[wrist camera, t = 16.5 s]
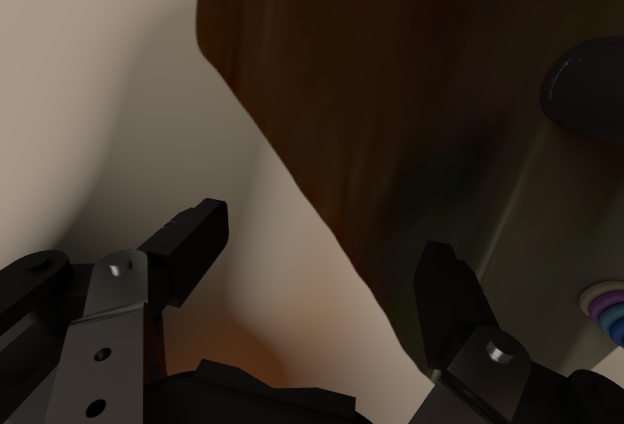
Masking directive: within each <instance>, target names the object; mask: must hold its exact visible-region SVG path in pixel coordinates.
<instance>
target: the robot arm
mask: <svg viewBox="0 0 624 424" xmlns="http://www.w3.org/2000/svg"><path fill="white" fill-rule="evenodd" d="M541 104H542V107H543V110H544V111H545V112H546V114H547V115H548V116H549V117H551V118H552V119H553V120H556V121H558V122H561V123H563V124H566V125H569V126H571V127H574V128H576V129H578V130H581V131H584V132H586V133H589V134H592V135H594V136H597V137H599V138H602V139H605V140H607V141H610V142H612V143H615V144H618V145H620V146H623V147H624V36H611V37H600V38H595V39H592V40H589V41H586V42H584V43H582V44H580V45H577V46H576V47H574V48H573V49H571V50H570V51H568V52H567V53H566V54H564V55H563V56H562V57H561V58H560V59H559V60H558V61H557V62H556V63H555V64H554V66H553V67H552V68H551V69H550V71H549V73H548V74H547V76H546V78H545V80H544V83H543V85H542V89H541ZM228 237H229V227H228V210H227V204H226V202H225V201H220V200H215V199H210V198H206V199H204V200H203V201H202V202H201V203H200V204H198V205H197V206H196V207H195V208H189V209H187V210H185V211H183V212H180V213H179V214H177V215H176V216H175V217H174V218H173V219H171V221H170V222H168V223H167V224H165V225H164V226H163V228H161V229H160V230H158V231H157V232H156V233H155V234H154V235H153V236H151V237H150V238H149V239H148V240H147V241H145V242H144V243H143V244H142V245H141V246H140V247H138V248H137V249H136V250H135V249H127V250H120V251H117V252H114V253H111V254H109V255H107V256H105V257H103V258H102V259H100V260H99V261H98V262H97V263H96V264H71V263H70V261H69V259H68V257H67V255H66V254H65V253H64V252H62V251H57V250H47V251H40V252H36V253H33V254H29V255H27V256H24V257H22V258H20V259H18V260H16V261H14V262H13V263H11V264H10V265H8V266H7V267H5V268H3V269H2V270H0V336H1V335H2V334H4V333H5V332H6V331H7V330H9V329H10V328H11V327H12V326H13V325H15V324H16V323H17V322H18V321H20V320H21V319H22V318H23V317H24V316H26V315H27V314H28V315H29V317H30V319H31V320H32V322H33V324H32V325H31V326H30V327H28V328H27V329H26V330H25V331H24V332H23V333H21V335H19V336H18V337H17V338H16V339H15V340H13V341H12V342H11V343H10V344H9V345H8V346H6V347H5V348H4V349H3V350H2V351H1V352H0V424H3V423H4V422H5V420H7V419H8V418H9V417H10V415H11V414H12V413H13V412H14V411H15V410H16V409H17V408H18V407H19V406H20V405H21V404H22V403H23V401H24V400H25V399H26V398H27V397H28V396H29V395H30V394H31V393H32V392H33V391H34V390H35V389H36V387H37V386H38V385H39V384H40V383H41V382H42V381H43V380H44V379H45V378H46V377H47V376H48V375H49V373H50V372H51V371H52V370H53V369H54V368H55V367H56V366H57V365H58V364H59V366H58V370H57V374H56V378H55V382H54V386H53V390H52V394H51V398H50V402H49V406H48V410H47V414H46V418H45V422H44V424H373V423H372V422H371V421H369V420H368V419H367V418H365V417H364V416H362V415H361V414H359V413H358V412H356V411H355V403H356V397H352V396H348V395H344V394H340V393H336V392H332V391H328V390H325V389H320V388H315V387H314V388H282V389H281V388H279V389H277V388H272V387H270V386H268V385H267V384H265V383H263V382H262V381H260V380H258V379H257V378H255V377H253V376H251V375H250V374H248V373H246V372H245V371H243V370H241V369H240V368H238V367H233V366H230V365H226V364H222V363H218V362H214V361H210V360H206V359H202V360H201V362H200V364H199V366H198V367H197V369H196V371H188V372H182V373H178V374H174V375H171V376H168V374H167V369H166V361H165V345H164V330H163V316H162V311H163V309H164V308H165V307H166V306H167V305H170V306H174V307H178V308H180V307H181V305H182V304H183V303H184V301H185V300H186V299H187V297H188V296H189V295H190V293H191V292H192V291H193V289H194V288H195V287H196V285H197V284H198V283H199V281H200V280H201V279H202V277H203V276H204V274H205V273H206V272H207V270H208V269H209V268H210V266H211V265H212V264H213V262H214V261H215V260H216V258H217V257H218V255H219V254H220V253H221V252H222V250H223V249H224V248H225V246H226V244H227V241H228ZM413 287H414V293H415V298H416V304H417V309H418V315H419V321H420V326H421V332H422V338H423V343H424V349H425V354H426V360H427V366H428V368H432V369H437V370H441V374H442V376H441V377H440V379H439V380H438V382H437V383H436V384H435V386H434V387H433V389H432V390H431V392H430V393H429V395H428V396H427V397H426V399H425V400H424V402H423V403H422V405H421V406H420V408H419V409H418V410H417V412H416V413H415V415H414V416H413V417H412V419H411V420H410V422H409V423H408V424H624V389H623V388H621V387H620V386H619V385H617V384H616V383H615V382H613V381H611V380H610V379H608V378H606V377H605V376H603V375H600V374H598V373H596V372H593V371H590V370H584V369H580V370H576V371H574V372H573V373H572V374H571V375H570V376H569V377H568V378H567V377H565V376H563V375H561V374H558V373H556V372H554V371H552V370H550V369H548V368H546V367H544V366H541V365H539V364H537V363H535V362H533V361H532V360H531V358H530V356H529V354H528V352H527V351H526V349H525V348H524V347H523V345H522V344H521V343H520V342H519V341H518V340H516V339H515V338H514V337H513V336H511V335H510V334H508V333H507V332H505V331H503V330H501V329H500V327H499V325H498V323H497V320H496V318H495V316H494V314H493V312H492V310H491V307H490V305H489V303H488V301H487V299H486V297H485V295H483V290H482V288H481V286H480V285H479V282H478V279H477V277H476V275H475V273H474V271H473V270H472V269H471V268H470V267H469V266H468V265H467V264H466V263H465V262H464V261H462V260H457V258H456V255H455V253H454V250H453V248H452V246H451V245H450V244H445V243H439V242H434V241H428V242H427V244H426V246H425V248H424V251H423V253H422V256H421V258H420V260H419V263H418V265H417V268H416V271H415V274H414V280H413Z"/></svg>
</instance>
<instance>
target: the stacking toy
mask: <svg viewBox="0 0 624 424" xmlns="http://www.w3.org/2000/svg"><path fill="white" fill-rule="evenodd" d="M579 307H580V309H581V310H582V311H583V312H584V313H585V314H586V315H588V316H590V318H591V319H592V320H593V321H594V322H595V323H597V324H598V325H599V326H600V328H601V330H602V331H603V332H604V333H606V334H607V335H609V336H610V337H611V339H612V340H613V341H614V342H615V343H616V344H617V345H619V346H621V347H623V348H624V282H623V281H606V282H601V283H598V284H595V285H593V286H591V287H589V288H588V289H586V290H585V291H584V292H583V293H582V294H581V296H580V298H579Z"/></svg>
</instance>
